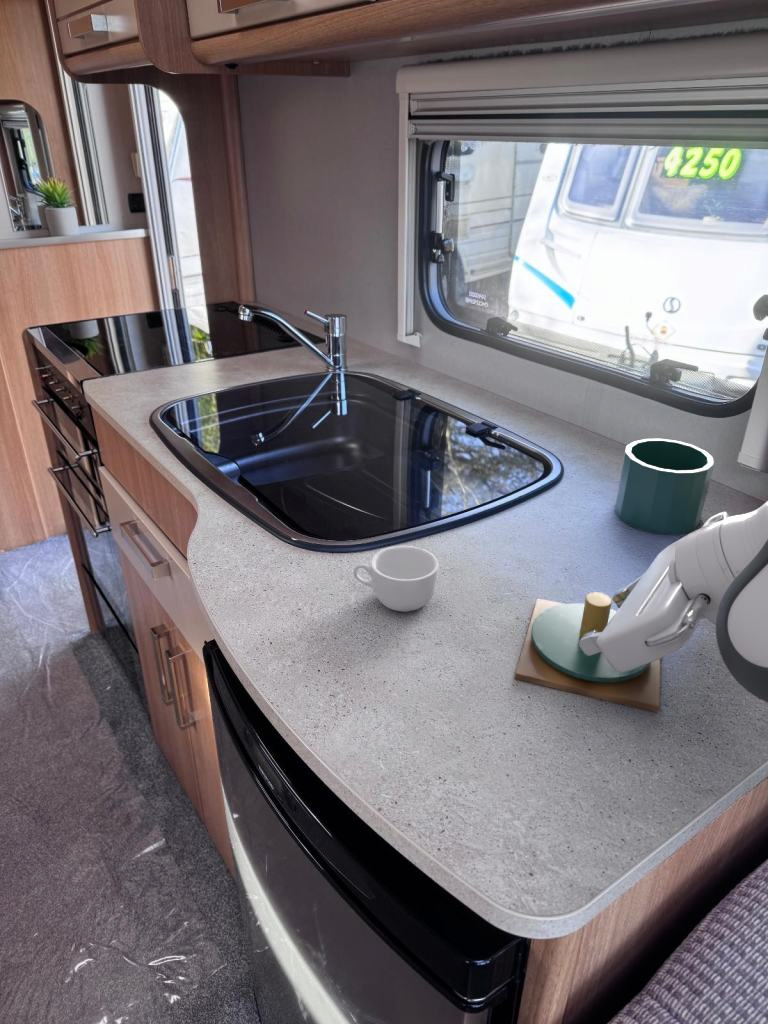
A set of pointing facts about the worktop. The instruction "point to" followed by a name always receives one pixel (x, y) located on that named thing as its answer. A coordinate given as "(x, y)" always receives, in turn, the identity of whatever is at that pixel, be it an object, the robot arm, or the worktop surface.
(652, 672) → the plate
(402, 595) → the teacup
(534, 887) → the worktop surface
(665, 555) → the robot arm
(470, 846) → the worktop surface
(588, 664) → the tin lid
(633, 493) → the tea tin
